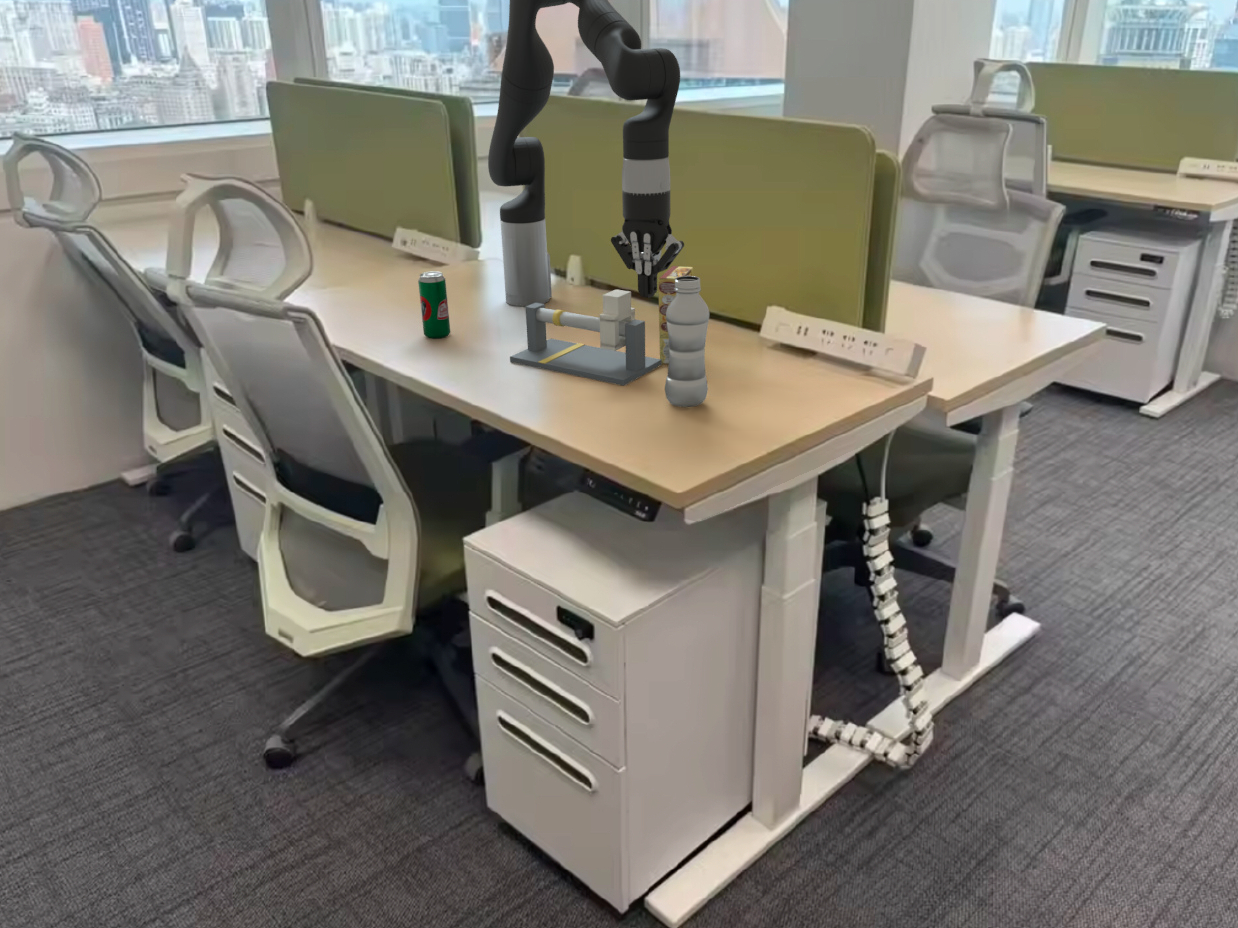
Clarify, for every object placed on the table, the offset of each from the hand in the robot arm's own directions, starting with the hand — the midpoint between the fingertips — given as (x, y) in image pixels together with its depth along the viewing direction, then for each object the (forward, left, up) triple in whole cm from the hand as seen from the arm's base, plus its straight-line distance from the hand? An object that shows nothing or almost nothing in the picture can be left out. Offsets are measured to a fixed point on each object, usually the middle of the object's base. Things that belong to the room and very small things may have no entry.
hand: (647, 296), depth 163 cm
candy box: (-11, -1, -14) cm, 18 cm away
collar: (0, -6, -9) cm, 11 cm away
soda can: (+1, -47, -14) cm, 49 cm away
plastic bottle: (+8, +12, -14) cm, 20 cm away
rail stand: (0, -13, -14) cm, 19 cm away
